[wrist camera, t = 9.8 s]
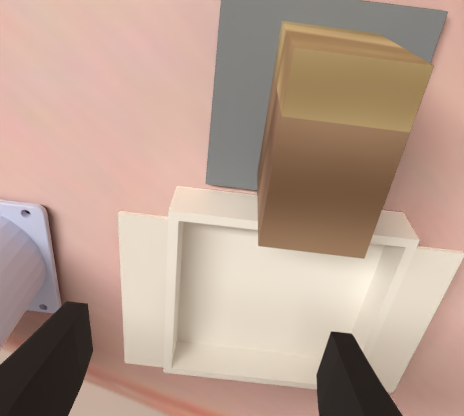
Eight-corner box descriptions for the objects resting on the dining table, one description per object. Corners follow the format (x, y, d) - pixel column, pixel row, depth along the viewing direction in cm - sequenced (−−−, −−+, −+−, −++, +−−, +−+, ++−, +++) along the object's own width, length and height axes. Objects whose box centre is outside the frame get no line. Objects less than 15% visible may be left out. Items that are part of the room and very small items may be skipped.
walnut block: (336, 183, 20) (364, 258, 15) (257, 173, 20) (258, 245, 15) (378, 33, 17) (433, 65, 11) (281, 20, 17) (294, 47, 11)
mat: (206, 180, 21) (205, 184, 21) (223, -18, 16) (222, -17, 16) (377, 200, 21) (380, 204, 21) (444, 10, 16) (448, 11, 16)
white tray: (135, 336, 27) (125, 368, 25) (131, 180, 21) (117, 204, 19) (380, 364, 28) (390, 397, 26) (448, 217, 21) (469, 246, 19)
